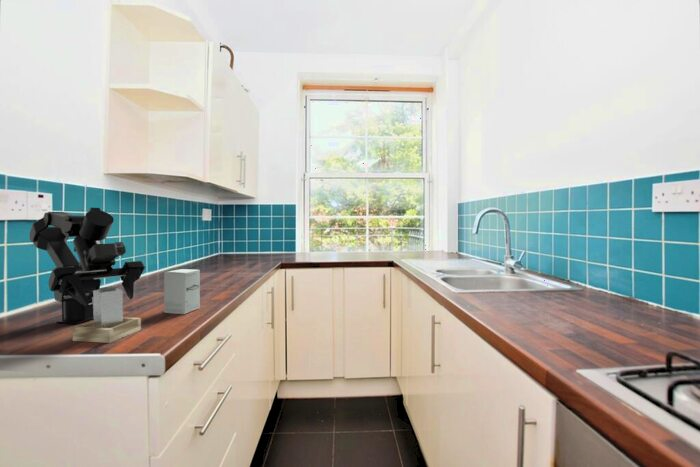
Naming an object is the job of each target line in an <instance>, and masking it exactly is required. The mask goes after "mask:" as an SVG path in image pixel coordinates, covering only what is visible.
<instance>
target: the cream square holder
mask: <svg viewBox="0 0 700 467" xmlns="http://www.w3.org/2000/svg"><path fill="white" fill-rule="evenodd" d="M141 330H142V318H141V317H130V316H129V317H127V316H123V323H122V324H120V325H117V326H114V327H112V328H95V327H94V320H92V321H90V322H87V323H86V322H85V323H83V324H79V325H78V326H74V327H72V341H73V342H87V343H90V342H91V343H104V344H105V343H107V344H110V343H113V342H115V341H118V340H120V339H122V337H123V338H125V337H127V336H130V335H132V334H134V333H137V332H139V331H141Z"/></svg>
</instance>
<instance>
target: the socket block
mask: <svg viewBox="0 0 700 467" xmlns="http://www.w3.org/2000/svg"><path fill="white" fill-rule="evenodd" d="M123 291H124V290H123V289H122V288H119V287H118V288H117V287H115V286H111V285H110V286H105V287H104V286H103V287H102V286H101V287H100V290H93V297H92V303H93V315H94V319H93V321H94V327H95V328H112V327H114V326H117V325H120V324H122V323H123V317H124V306H123V305H124V302H123V301H124V300H123V299H124V295H123V294H124V292H123Z"/></svg>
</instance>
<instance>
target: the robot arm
mask: <svg viewBox="0 0 700 467" xmlns="http://www.w3.org/2000/svg"><path fill="white" fill-rule="evenodd" d="M113 223H114V217H113V215H111V214H110V213H109V212H106V211H103V210H101V208H100V207H90V208H89V210H88V211H87V212H86V213H85V215H73V214H70V213H68V212H64V211H63V212H62V211H47V212H45V213H44V215H43V217H42V218H40V219H39V220H37V221H35V222H33V223H32V225H31V228H30V231H29V240H30V242H31V243H32V244H33V245H34V246H35V248H36V249H39V250H42V251H46V252H47V254H48V255H49V257H50V259H51V260H52V262H53V264H54V265H55V267H54V268H53V269H52V270H51V273H50V275H49V279H48V287H49V290H50V291H51V292H53V297H54V301H56V302H59V303H61V319H59V320H58V319H57V320H56V321H55V322H56V324H68V325H69V324H71V325H72V324H73V325H78V324H81V323H84V322H85V323H86V322H88V321H91V320H94V311H93V290H100V288H101V282H102V280H101V279H109V278H118V277H119V278H120V280H121V281H122V283H121V285H122V287H123V289H124V291H125V294H126V295H127V297H128V298H129V300H133V298H134V290H135V288H134V287H135V282H136V281H138V280H140V278H141V276H142V274H143V272H144V271H145V268H146V267H145V263H144V262H143V261H141V260H134V261H132V260H131V261H125V262H124V263H123V266H122V267H117V268H113V266H115V264H116V262H117V261H116V259H117V258H118V257H119V256H120V257H121V256H124V255H125V253H126V252H127V248H126V246H125V244H124V242H123V241H115V242H113V243H110V242H109V243H103V240H106V239H107V237H108V234H109V232H110V230H111V228H112V226H113ZM69 238H73V240H72V241H73V242H72V244H73V251H72V250H71V249H70V247H69V246H68V244H67V241H68V240H69ZM73 252H76V254H77V257H78V259H79V260H78V259H77V257H76V256H75V254H74V253H73Z"/></svg>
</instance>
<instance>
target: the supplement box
mask: <svg viewBox="0 0 700 467" xmlns="http://www.w3.org/2000/svg"><path fill="white" fill-rule="evenodd" d="M163 274H164V275H163V277H164V278H163V281H164V282H163V286H164V287H163V293H164V294H163V297H164V298H163V300H164V301H163V304H164V305H163V308H164V311H163V313H164V314H174V315H186V314H188V313H191V312H194V311H195V310H199V309H200V308H201V304H200V303H201V270H200V269H194V268H193V269H191V268H190V269H189V268H180V269H175V270H168V271H164V272H163Z"/></svg>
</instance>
